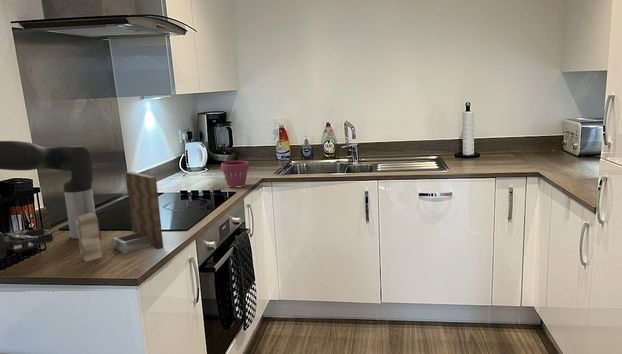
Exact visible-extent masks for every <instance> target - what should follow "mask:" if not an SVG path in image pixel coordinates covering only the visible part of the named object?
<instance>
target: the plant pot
mask: <svg viewBox="0 0 622 354" xmlns="http://www.w3.org/2000/svg"><path fill="white" fill-rule="evenodd" d="M220 166H221V171H222V172H223V175H224V178H225V181H226V185H227V187H228V186H231V187H236V186H243V185H245V186H246V181H247V176H248V171H249V170H250V163H249V162H248V161H247V160H231V161H223V162H221V165H220Z"/></svg>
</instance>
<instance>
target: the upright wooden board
mask: <svg viewBox="0 0 622 354" xmlns="http://www.w3.org/2000/svg"><path fill="white" fill-rule="evenodd" d="M125 179H126V187H127V188H126V189H127V195H128V205H129V212H130V221H131V230H132V232H131V233H128V234H124V235H123V234H122V235H120V236H116V237H112V246H113V249H114V250H117V251H119V252H121V253H122V254H125V255H126V254H128V253H131V252H136V251H139V250H143V249H146V248H149V247H152V248H154V249H157V250H159V249H163V248H164V239H163V233H162V223H161V221H162V220H161V211H160V204H159V194H158V184H157V183H158V182H157V177H156V176H153V175H148V174H146V173H145V174H144V173H139V172H136V171H126V172H125Z"/></svg>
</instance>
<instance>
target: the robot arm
mask: <svg viewBox="0 0 622 354" xmlns="http://www.w3.org/2000/svg"><path fill="white" fill-rule="evenodd" d="M92 161H93V160H92V156H91V153H90V150H89V149H88V148H87V147H85V146H83V145H63V146H41V145H39V144H37V143H32V142H27V141H18V140H17V141H16V140H0V170H6V171H33V170H38V169H39V170H40V169H48V170H49V169H50V170H51V169H52V170H57V171H62V172H70V176H71V177H70V180H69V181H66V182H64V183H63V185H62V187H63V192H64V193H63V195H64V200H65V207H66V213H67V221H68V228H69V234H70V235H69V236H70V239H75V240H77V239H78V233H77V226H76V219H75V216H80V215H85V214H90V213H93V214H95V215H97V214H96V208H95V201H94V193H93V185H92V184H93V180H94V175H93V162H92ZM53 241H54V236H53V234H52V233H46V234H45V232H44V229H43V228H42V227H41V228H37V229H32V230H27V229H20V230H19V229H18V230H15V231H10V232H5V233H2V232H1V231H0V259H3V258H5V257H6V256H7V251H8V250H13V252H14V253H16V252H22V251H26V250H30V249H35V248H36V249H37V248H38V247H39V245H40V244H45V243H46V244H47V243H50V242H53Z"/></svg>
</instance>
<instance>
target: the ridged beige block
mask: <svg viewBox="0 0 622 354" xmlns="http://www.w3.org/2000/svg"><path fill="white" fill-rule="evenodd" d="M95 214H96V213H95ZM95 214H93V213H90V214H85V215H80V216H75V219H76V226H77V233H78V246H79V253H80V259H81V260H82V261H83V262H85V263H88V262H90V261H94V260H98V259H102V258H103V254H102V247H101V241H102V237H101V236H102V235H101V229H100V228H101V227H100V221H99V218H98V217H97V214H96V215H95Z"/></svg>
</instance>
